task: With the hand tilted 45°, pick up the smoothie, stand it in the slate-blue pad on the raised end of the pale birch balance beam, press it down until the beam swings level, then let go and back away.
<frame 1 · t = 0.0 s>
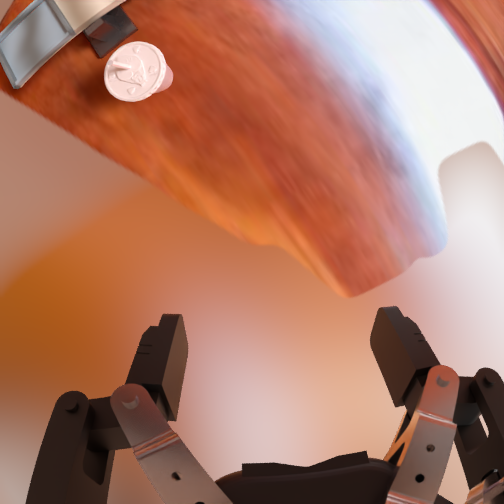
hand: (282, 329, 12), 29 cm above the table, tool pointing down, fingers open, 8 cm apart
balance beam: (77, 0, 20), point 6 cm above the table, hinge at -10.0°
pivot stand: (98, 12, 26), on the table
smoothie: (159, 78, 32), on the table
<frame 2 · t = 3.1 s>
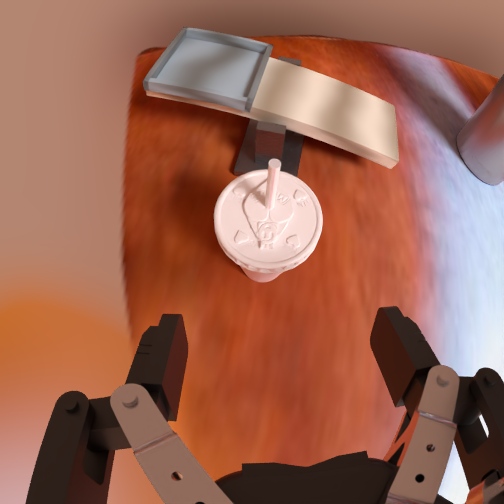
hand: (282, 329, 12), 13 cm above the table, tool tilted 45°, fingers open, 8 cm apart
balance beam: (284, 87, 25), point 6 cm above the table, hinge at -10.0°
pivot stand: (277, 128, 31), on the table
smoothie: (262, 262, 27), on the table
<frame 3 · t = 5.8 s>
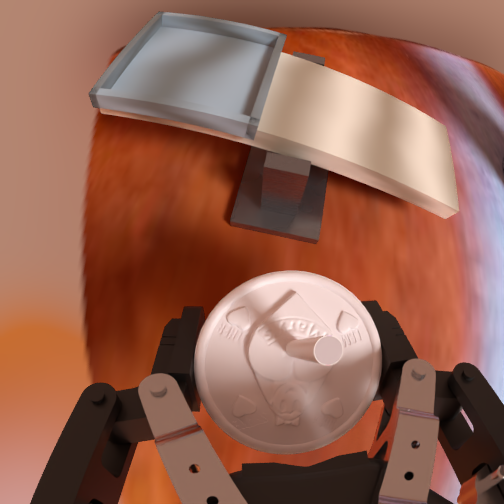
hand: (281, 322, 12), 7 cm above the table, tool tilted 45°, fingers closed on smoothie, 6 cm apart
balance beam: (305, 97, 17), point 6 cm above the table, hinge at -10.0°
pivot stand: (290, 153, 23), on the table
smoothie: (271, 355, 18), on the table, touching gripper
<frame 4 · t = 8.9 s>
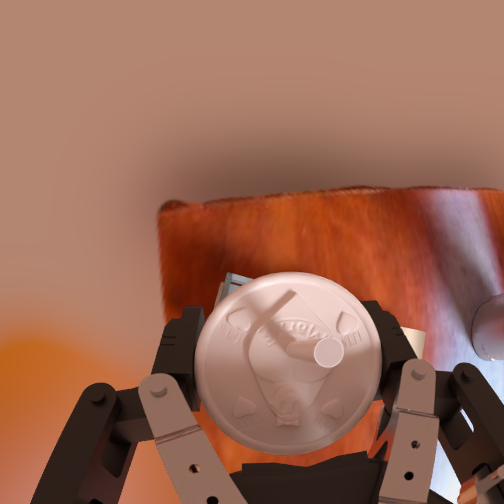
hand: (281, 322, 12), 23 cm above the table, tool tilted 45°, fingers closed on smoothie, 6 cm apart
balance beam: (331, 352, 27), point 6 cm above the table, hinge at -10.0°
smoothie: (271, 356, 18), point 16 cm above the table, touching gripper
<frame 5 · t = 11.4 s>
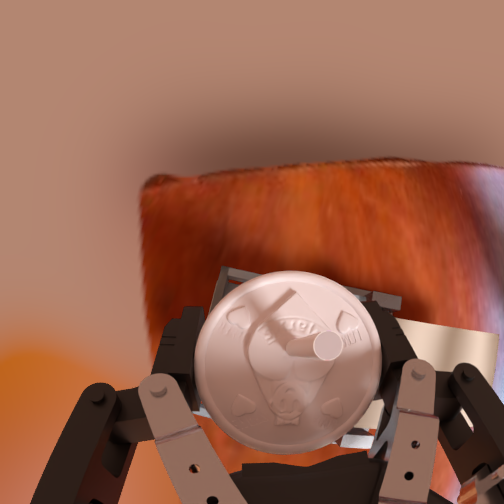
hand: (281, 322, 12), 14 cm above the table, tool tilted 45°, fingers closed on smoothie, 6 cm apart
balance beam: (376, 372, 18), point 6 cm above the table, hinge at 0.1°, touching smoothie
pivot stand: (349, 368, 24), on the table
smoothie: (271, 358, 18), point 7 cm above the table, touching balance beam, gripper
when the fingers open (14 cm above the table, at t = 12.3 s): smoothie stays where it is, resting on balance beam.
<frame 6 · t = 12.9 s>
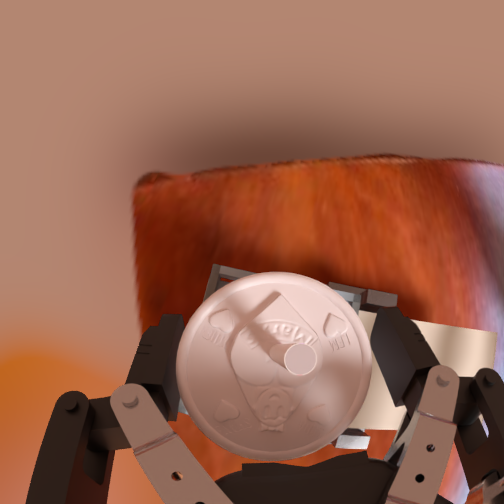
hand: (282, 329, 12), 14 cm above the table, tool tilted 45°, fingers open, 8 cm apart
balance beam: (372, 372, 18), point 6 cm above the table, hinge at 0.1°, touching smoothie
pivot stand: (344, 367, 24), on the table
smoothie: (264, 357, 18), point 6 cm above the table, touching balance beam
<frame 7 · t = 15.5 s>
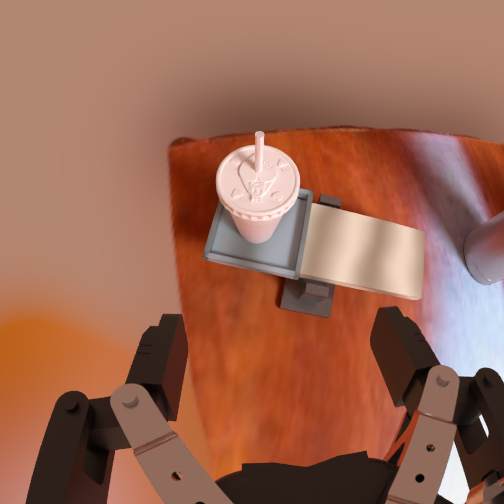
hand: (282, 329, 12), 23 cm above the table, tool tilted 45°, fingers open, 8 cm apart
balance beam: (325, 241, 31), point 6 cm above the table, hinge at 0.1°, touching smoothie
pivot stand: (314, 258, 37), on the table
smoothie: (256, 227, 31), point 6 cm above the table, touching balance beam
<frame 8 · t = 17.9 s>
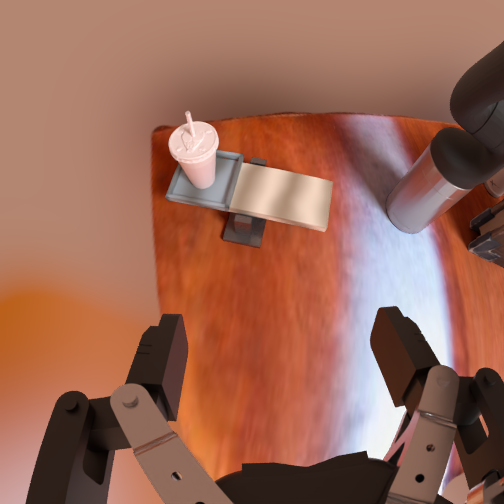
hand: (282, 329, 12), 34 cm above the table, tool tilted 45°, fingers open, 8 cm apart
balance beam: (251, 187, 44), point 6 cm above the table, hinge at 0.1°, touching smoothie
travel mug: (491, 187, 53), on the table
pivot stand: (251, 205, 50), on the table
smoothie: (203, 179, 45), point 6 cm above the table, touching balance beam
decorative book: (503, 255, 48), on the table
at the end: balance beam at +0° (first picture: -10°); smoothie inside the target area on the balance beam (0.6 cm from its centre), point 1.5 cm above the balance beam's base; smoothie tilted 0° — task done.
